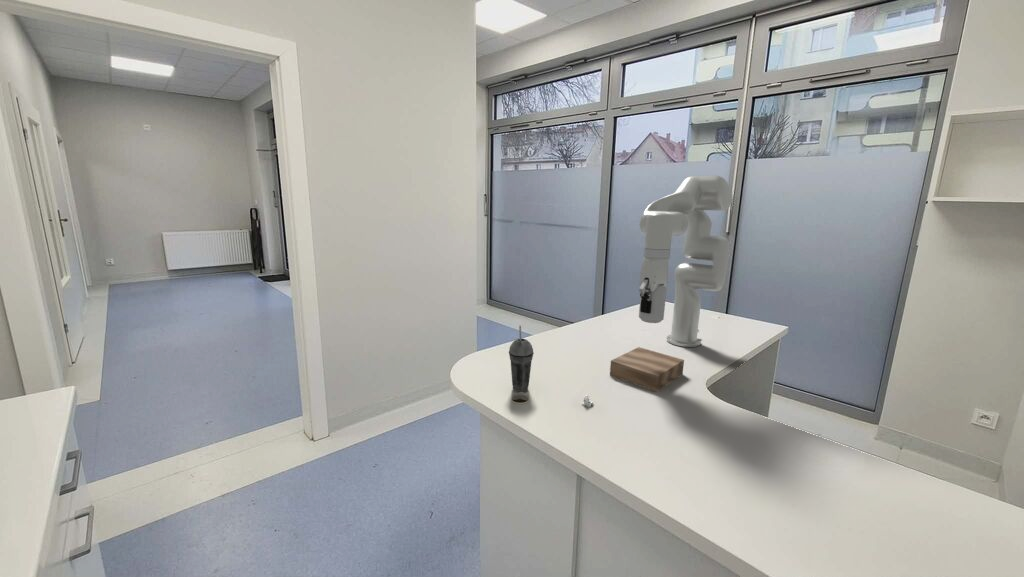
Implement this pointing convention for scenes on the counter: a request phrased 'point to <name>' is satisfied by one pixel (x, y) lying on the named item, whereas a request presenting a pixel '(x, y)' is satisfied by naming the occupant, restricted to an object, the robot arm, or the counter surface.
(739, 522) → the counter surface
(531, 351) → the beverage cup
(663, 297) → the can
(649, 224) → the robot arm
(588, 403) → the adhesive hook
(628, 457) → the counter surface
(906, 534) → the counter surface
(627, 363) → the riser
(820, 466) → the counter surface
